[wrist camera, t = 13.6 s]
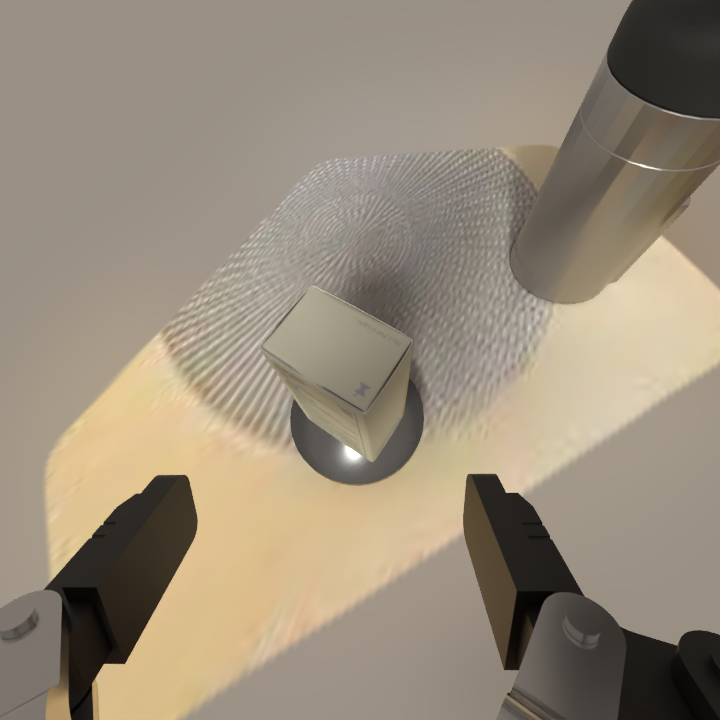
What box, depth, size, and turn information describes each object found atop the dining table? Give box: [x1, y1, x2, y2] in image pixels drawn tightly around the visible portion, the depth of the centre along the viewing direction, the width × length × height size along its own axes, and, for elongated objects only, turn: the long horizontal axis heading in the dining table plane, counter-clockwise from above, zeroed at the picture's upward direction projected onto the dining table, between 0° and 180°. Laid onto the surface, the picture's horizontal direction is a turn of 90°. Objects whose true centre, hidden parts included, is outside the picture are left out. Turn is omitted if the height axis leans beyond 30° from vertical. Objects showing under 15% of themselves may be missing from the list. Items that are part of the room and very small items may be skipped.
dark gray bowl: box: [290, 378, 424, 486], centre depth 30 cm, size 10×10×3 cm
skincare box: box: [259, 285, 414, 462], centre depth 23 cm, size 6×4×12 cm
